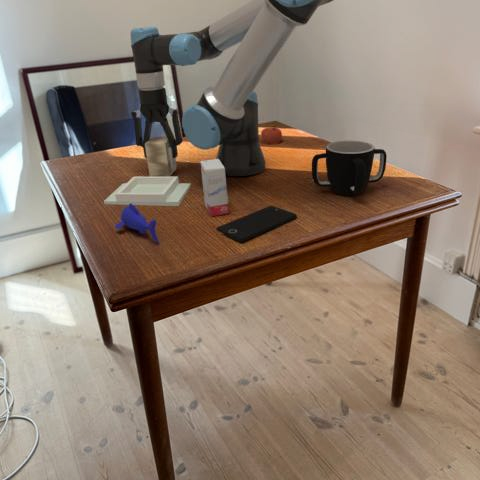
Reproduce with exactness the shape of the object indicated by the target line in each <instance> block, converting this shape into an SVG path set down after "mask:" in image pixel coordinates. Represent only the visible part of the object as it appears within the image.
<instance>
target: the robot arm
mask: <svg viewBox="0 0 480 480" xmlns="http://www.w3.org/2000/svg"><path fill="white" fill-rule="evenodd" d="M331 2H334V0H250V1H248V2H247V3H244V4H243V5H241V6H240V7H238V8H237V9H235V10H232V11H231V12H230V13H228V14H226V15H224V16H222V17H221V18H220V19H218V20H216V21H214V22H213V23H211V24H210V25H207V26H206V27H204V28H203V29H200V30H198V31H197V30H196V31H191V32H182V33H173V34H172V33H171V34H170V33H169V34H160V33H159V29H158V27H156V26H149V27H148V26H145V27H136V28H135V27H134V28H132V29H131V30H130V43H131V45H130V47H131V50H132V56H133V64H134V67H135V77H136V78H135V79H136V85H137V88H138V89H139V90H138V96H139V104H140V107H139V109H137V110H133V111H131V113H130V114H131V117H132V119H133V125H134V134H135V135H134V136H135V145H136V146H137V147H141V148H143V149H142V150H143V155H144V159H147V156H146V149H145V143H146V142H148V141H149V140H150V139H151V133H152V127H153V123H155V122H156V123H159V124H160V126H161V127H162V130H163V132H164V134H165V137H167V138H168V141H169V143H170V145H171V146H170V147H169V155H170V163H171V170H174V169H175V168H176V167H177V161H176V162H175V159H176V158H177V157H178V154H179V153H178V146H180V145H181V144H182V143H183V136H182V130H181V127H182V129H183V134H184V135H185V137H186V139H187V141H188V142H189V143H190V144H191V145H192V146H193V147H195V148H197V149H200V150H203V151H205V150H211V149H214V148H217V147H218V150H217V154H216V158H215V159H219V160H220V162H221V163H222V165H223V166H224V168H225V176H228V177H229V176H230V177H245V176H251V175H256V174H259V173H261V172H263V171H265V169H266V158H265V156H264V153H263V151H262V147H261V144H260V140H259V139H260V138H259V136H260V135H259V102H258V94H257V92H255V91H254V90H255V89H256V87H257V86H258V84H259V83H260V81H261V80H262V78H263V77H264V75H265V74H266V72H267V71H268V69H269V68H270V66H271V65H272V64H273V62H274V60H275V59H276V57H277V56H278V54H279V53H280V51H281V50H282V48H283V47H284V45H285V44H286V43H287V41H288V40H289V38H290V36H291V35H292V33H293V32H294V31H295V29H296V28H297V27H299V26H305V25H306V24H308V22H309V21H310V19H311V18H312V16H313V15H314V14H315V12H316V10H317V9H318V8H319V7H320V6H323V5H326V4H329V3H331ZM237 44H238V47H237V48H236V50H235V51H234V53H233V55H232V57H231V58H230V60H229V61H228V63H227V65H226V67H225V68H224V70H223V72H222V73H221V75H220V76H219V78H218V80H217V82H216V83H215V85H212V86H208V87H207V88H205V90H204V91H203V93H202V95H201V97H200V98H199V100H198V101H197V103H196V104H193V105H190V106H189V107H188V108H186V109H185V110H184V112H183V114H182V118H181V126H180V119H179V113H180V109H179V108H171V107H170V105H169V104H168V97H167V90H166V89H167V88H165V87H164V86H165V85H166V83H165V73H164V66H182V67H185V66H193V65H196V64H197V63H198V62H201V61H206V60H213V59H216V58H218V57H220V56H221V55H222V54H223V53H224V52H225V51H226V50H228V49H230V48H231V47H233V46H236V45H237ZM168 114H169V116H170V117H171V121H172V127H173V131H172V129H171V126H170V124H169V120H168V117H167V116H168ZM142 116H143V117H144V118H145V121H144V123H145V124H144V132H143V129H142V121H141V120H142V118H141V117H142Z"/></svg>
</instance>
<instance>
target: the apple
mask: <svg viewBox="0 0 480 480" xmlns="http://www.w3.org/2000/svg"><path fill="white" fill-rule="evenodd" d="M276 126H277V124H275V125H274V127H273V126H272V127H271V126H270V127H269V126H268V127H266V128H265V127H264V129H262V130H261V132H260V139H261V142H262V144H264V143H266V144H265V145H276V144H275V143H278V144H280V143H281V142H282V139H283V133H282V130H281V129H280V128H278V127H276ZM280 141H281V142H280ZM279 142H280V143H279Z"/></svg>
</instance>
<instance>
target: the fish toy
mask: <svg viewBox="0 0 480 480" xmlns="http://www.w3.org/2000/svg"><path fill="white" fill-rule="evenodd" d="M120 220H121V221H119V222H118V223H117V224H115V228H116V229H117V230H120V229H122V227H123V226H124V225H125V226H126V227H128V228H129V229H132V230H136V231H138V232H139V233H140V234H141V235H146V230H148V231H149V233H150V236H151V238H152V239H153V240H154V242H155V243H157V244H158V245H159V244H160V243H159V242H160V241H159V239H158V236H157V233H156V225H157V220H156V219H151V220H150V222H149V223H148V221H147V218H146V217H144V216H143V214H142V213H141V212H140V211H139V210H138V208H137V207H136V205H133V204H131V203H130V204H129V205H128V206H125V207H124V208H123V209H122V211H121V215H120Z"/></svg>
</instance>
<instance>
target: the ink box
mask: <svg viewBox="0 0 480 480" xmlns="http://www.w3.org/2000/svg"><path fill="white" fill-rule="evenodd" d="M200 167H201V168H200V170H201V172H200V173H201V180H202V188H203V189H202V190H203V200H204V206H205V207H206V210H207V211H208V214H209V216H211V217H215V216H221V215H227V214H230V207H229V205H230V204H229V197H228V196H229V195H228V188H227V187H228V186H227V177H226V176H227V175H225V168H224V166H223V165H222V163H221V162H220V160H219V159H216V158H215V159H206V160H201V161H200Z"/></svg>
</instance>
